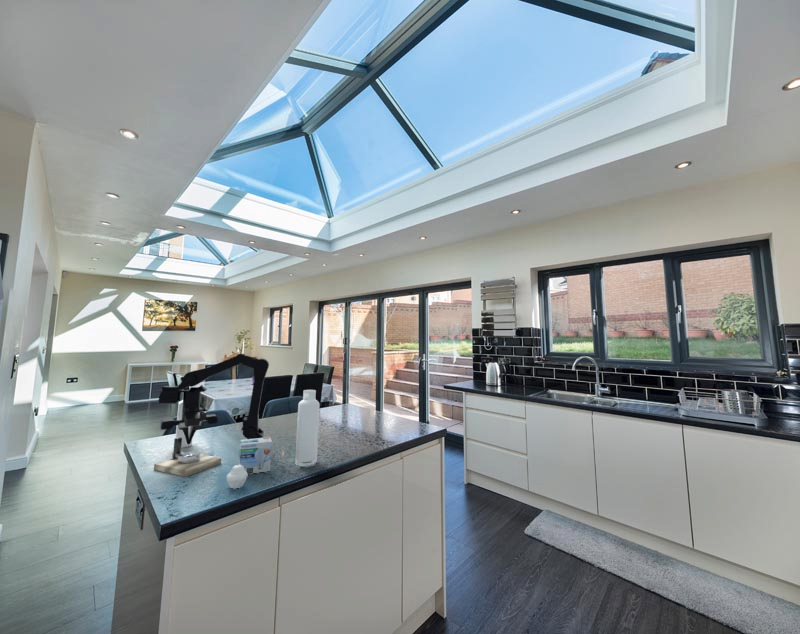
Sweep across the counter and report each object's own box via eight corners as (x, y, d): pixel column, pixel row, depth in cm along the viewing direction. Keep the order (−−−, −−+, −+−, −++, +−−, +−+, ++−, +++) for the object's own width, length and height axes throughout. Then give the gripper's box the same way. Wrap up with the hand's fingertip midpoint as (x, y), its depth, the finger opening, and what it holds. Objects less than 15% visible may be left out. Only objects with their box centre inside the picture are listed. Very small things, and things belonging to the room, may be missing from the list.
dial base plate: (220, 463, 125) (221, 457, 125) (186, 476, 111) (186, 470, 112) (189, 457, 130) (189, 452, 130) (152, 469, 117) (153, 463, 117)
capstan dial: (204, 458, 123) (205, 439, 123) (185, 464, 116) (187, 444, 117) (183, 454, 127) (185, 435, 128) (164, 459, 121) (166, 440, 121)
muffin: (244, 490, 102) (245, 467, 102) (222, 492, 101) (224, 468, 101) (249, 482, 108) (250, 460, 108) (229, 483, 107) (230, 461, 107)
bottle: (321, 462, 128) (324, 390, 131) (307, 469, 121) (310, 392, 123) (305, 459, 131) (308, 388, 134) (290, 465, 124) (294, 390, 127)
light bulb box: (238, 476, 113) (240, 444, 114) (237, 469, 119) (239, 439, 120) (271, 471, 118) (272, 441, 119) (269, 465, 123) (270, 436, 124)
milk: (175, 448, 141) (179, 396, 142) (174, 445, 145) (178, 394, 147) (192, 446, 144) (195, 395, 146) (190, 442, 149) (194, 393, 151)
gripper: (163, 409, 116) (160, 454, 115) (222, 404, 128) (219, 444, 126) (161, 404, 125) (158, 446, 123) (216, 400, 136) (214, 438, 135)
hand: (188, 444), depth 127 cm, fingers closed
